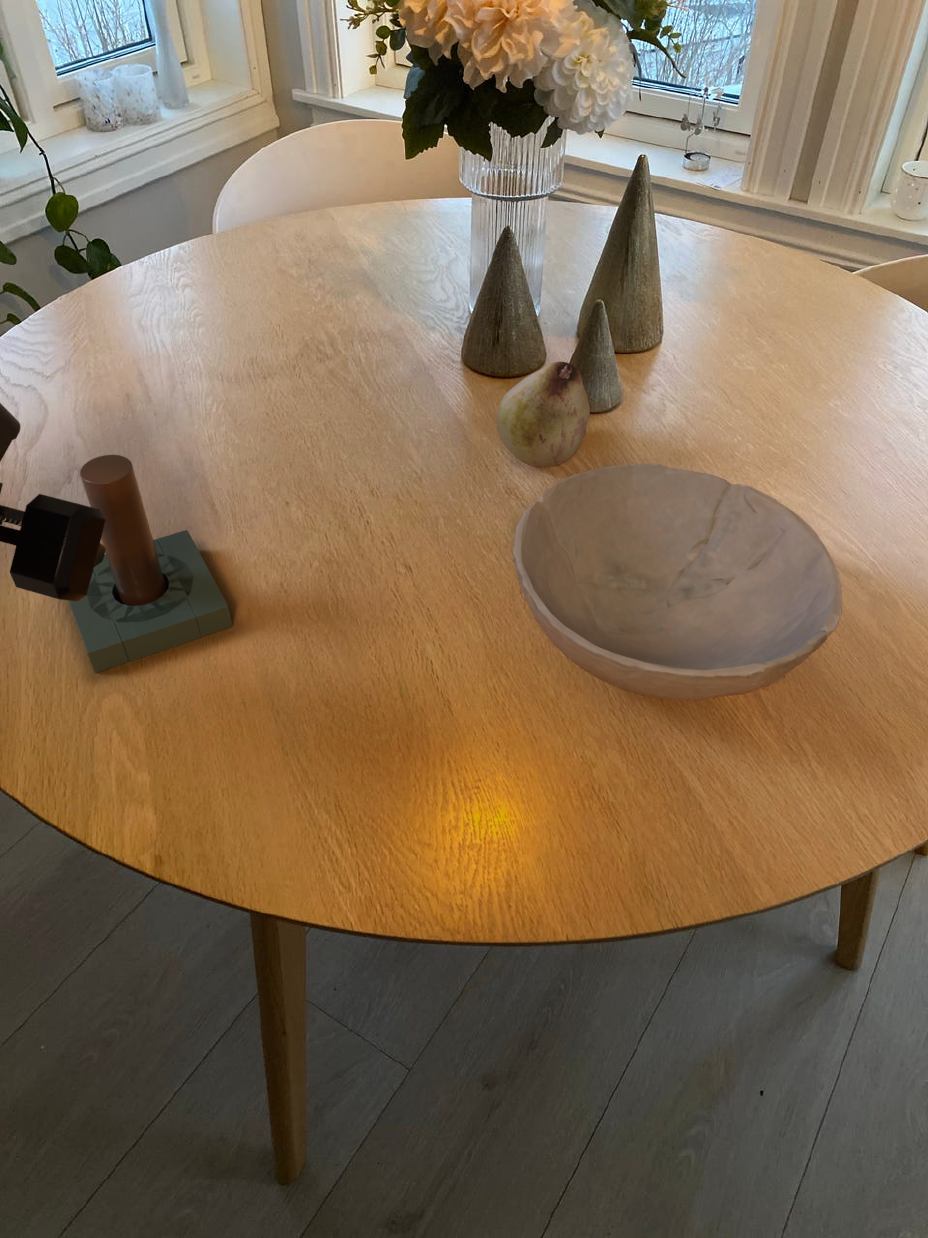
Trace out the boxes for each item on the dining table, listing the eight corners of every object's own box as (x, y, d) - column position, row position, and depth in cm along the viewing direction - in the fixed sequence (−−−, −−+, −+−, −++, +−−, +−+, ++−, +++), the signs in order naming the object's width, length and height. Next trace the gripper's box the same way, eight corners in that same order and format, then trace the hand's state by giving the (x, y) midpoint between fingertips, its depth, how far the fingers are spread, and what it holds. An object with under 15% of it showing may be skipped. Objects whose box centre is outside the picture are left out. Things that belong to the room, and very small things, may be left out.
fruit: (561, 492, 99) (571, 389, 91) (479, 467, 102) (482, 365, 94) (597, 443, 106) (610, 343, 97) (520, 421, 109) (525, 322, 101)
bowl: (631, 510, 97) (645, 425, 90) (870, 644, 84) (908, 557, 77) (443, 636, 84) (442, 548, 77) (691, 821, 70) (717, 734, 63)
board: (95, 673, 80) (87, 653, 78) (64, 588, 88) (56, 568, 86) (232, 626, 84) (228, 606, 83) (192, 549, 92) (187, 529, 90)
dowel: (161, 624, 85) (120, 485, 74) (117, 620, 85) (71, 481, 74) (176, 594, 87) (139, 456, 77) (134, 590, 88) (92, 452, 77)
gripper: (42, 402, 54) (185, 460, 69) (-213, 344, 59) (-26, 411, 74) (-6, 594, 54) (147, 610, 69) (-257, 521, 59) (-61, 551, 74)
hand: (50, 540), depth 72 cm, fingers open, 9 cm apart
